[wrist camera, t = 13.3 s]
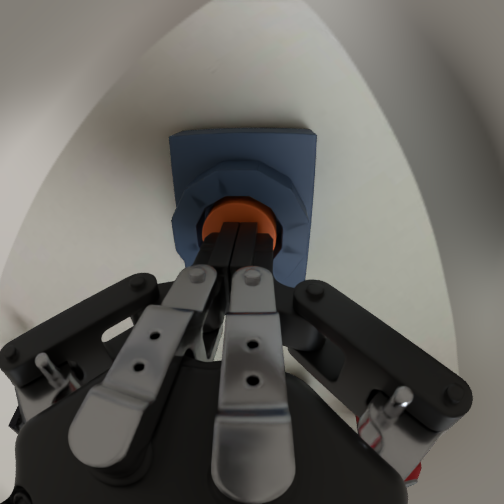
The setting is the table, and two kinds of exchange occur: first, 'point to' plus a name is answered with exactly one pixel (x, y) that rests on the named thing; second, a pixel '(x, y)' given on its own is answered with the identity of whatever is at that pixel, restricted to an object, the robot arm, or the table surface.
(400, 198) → the table surface
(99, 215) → the table surface
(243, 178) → the button box
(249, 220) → the button
